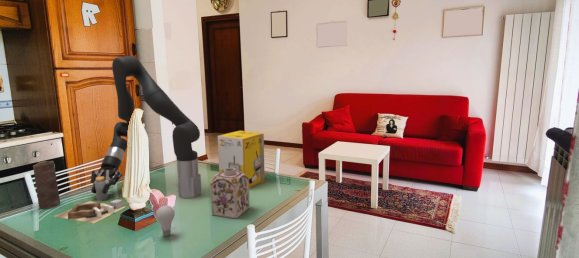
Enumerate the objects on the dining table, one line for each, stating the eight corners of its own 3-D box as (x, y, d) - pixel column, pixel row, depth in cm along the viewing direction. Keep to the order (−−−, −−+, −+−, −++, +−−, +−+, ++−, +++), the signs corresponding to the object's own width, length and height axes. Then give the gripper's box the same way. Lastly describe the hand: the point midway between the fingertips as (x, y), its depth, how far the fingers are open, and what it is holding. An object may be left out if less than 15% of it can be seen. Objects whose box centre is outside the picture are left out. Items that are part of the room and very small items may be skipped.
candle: (49, 212, 139) (42, 165, 135) (34, 210, 140) (27, 164, 137) (64, 204, 146) (59, 160, 143) (50, 203, 148) (44, 159, 144)
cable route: (126, 206, 142) (126, 200, 141) (99, 220, 129) (98, 214, 128) (112, 204, 144) (112, 198, 143) (84, 218, 131) (84, 211, 130)
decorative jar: (250, 207, 142) (249, 166, 139) (237, 219, 131) (235, 174, 128) (225, 204, 146) (223, 163, 143) (210, 215, 135) (208, 171, 132)
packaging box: (264, 180, 176) (263, 133, 172) (244, 190, 163) (242, 139, 158) (240, 175, 185) (239, 130, 180) (219, 184, 171) (217, 135, 167)
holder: (100, 207, 141) (100, 202, 140) (93, 216, 132) (92, 211, 132) (77, 209, 139) (76, 204, 138) (68, 218, 130) (67, 213, 130)
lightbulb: (160, 231, 122) (158, 202, 120) (177, 231, 122) (175, 202, 120) (155, 240, 116) (152, 210, 114) (173, 239, 116) (171, 209, 114)
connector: (110, 198, 152) (107, 176, 150) (102, 202, 148) (99, 179, 146) (102, 197, 153) (100, 175, 151) (94, 201, 149) (91, 178, 147)
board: (126, 208, 142) (126, 206, 142) (94, 225, 127) (93, 223, 127) (89, 203, 148) (89, 201, 148) (54, 218, 133) (53, 216, 133)
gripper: (94, 154, 155) (78, 188, 146) (123, 155, 154) (108, 190, 144) (103, 162, 162) (88, 195, 152) (131, 163, 160) (118, 197, 150)
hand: (98, 192), depth 148 cm, fingers closed on connector, 4 cm apart
